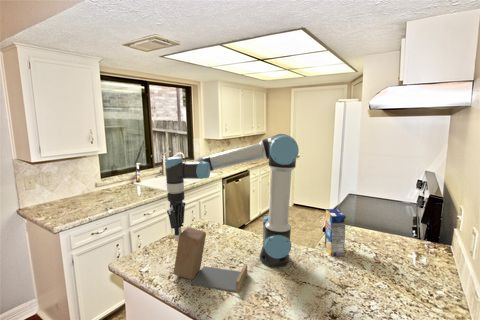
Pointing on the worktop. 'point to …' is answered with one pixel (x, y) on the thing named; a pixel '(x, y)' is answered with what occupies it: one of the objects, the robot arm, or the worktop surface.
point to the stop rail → (241, 278)
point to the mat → (216, 278)
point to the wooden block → (189, 253)
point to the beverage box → (335, 232)
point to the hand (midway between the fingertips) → (178, 240)
